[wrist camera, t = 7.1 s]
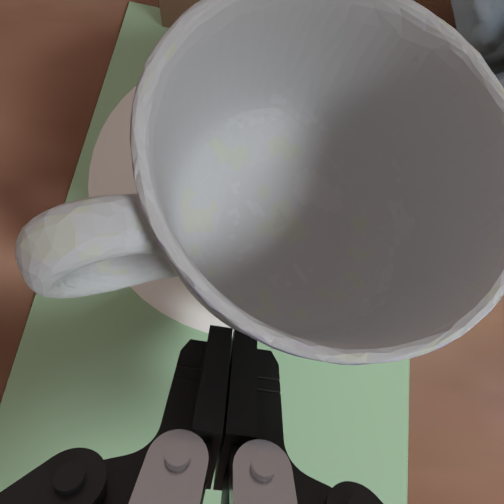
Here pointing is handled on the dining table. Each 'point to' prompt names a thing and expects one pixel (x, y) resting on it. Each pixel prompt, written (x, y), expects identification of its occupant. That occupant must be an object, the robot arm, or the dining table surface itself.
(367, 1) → the teacup
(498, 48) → the lucky cat figurine
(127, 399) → the putting green
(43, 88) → the dining table surface
